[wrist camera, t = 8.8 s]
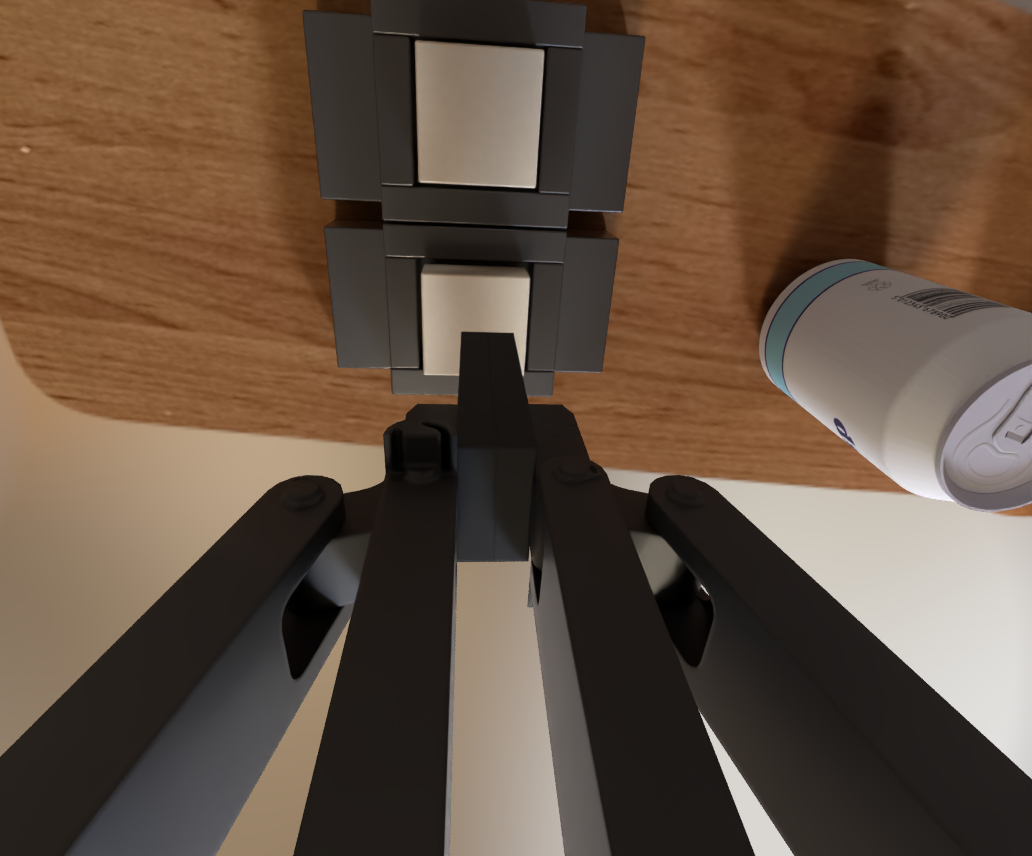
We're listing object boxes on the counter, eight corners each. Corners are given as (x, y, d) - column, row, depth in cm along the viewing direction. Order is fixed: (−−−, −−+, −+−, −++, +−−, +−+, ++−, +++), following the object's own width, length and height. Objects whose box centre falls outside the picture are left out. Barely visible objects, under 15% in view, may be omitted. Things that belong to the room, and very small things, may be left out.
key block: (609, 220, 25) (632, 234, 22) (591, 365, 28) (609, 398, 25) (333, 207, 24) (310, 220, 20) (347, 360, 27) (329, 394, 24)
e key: (525, 266, 22) (530, 276, 21) (520, 361, 24) (524, 377, 23) (423, 263, 22) (420, 272, 20) (426, 359, 24) (423, 375, 22)
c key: (538, 55, 19) (544, 49, 17) (530, 184, 21) (536, 188, 19) (418, 47, 19) (414, 39, 17) (421, 178, 20) (418, 182, 19)
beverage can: (723, 363, 29) (874, 496, 18) (801, 232, 26) (1032, 298, 15) (830, 404, 30) (1025, 549, 20) (914, 285, 28) (1193, 378, 17)
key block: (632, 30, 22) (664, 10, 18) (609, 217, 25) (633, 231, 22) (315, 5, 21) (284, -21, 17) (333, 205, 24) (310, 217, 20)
